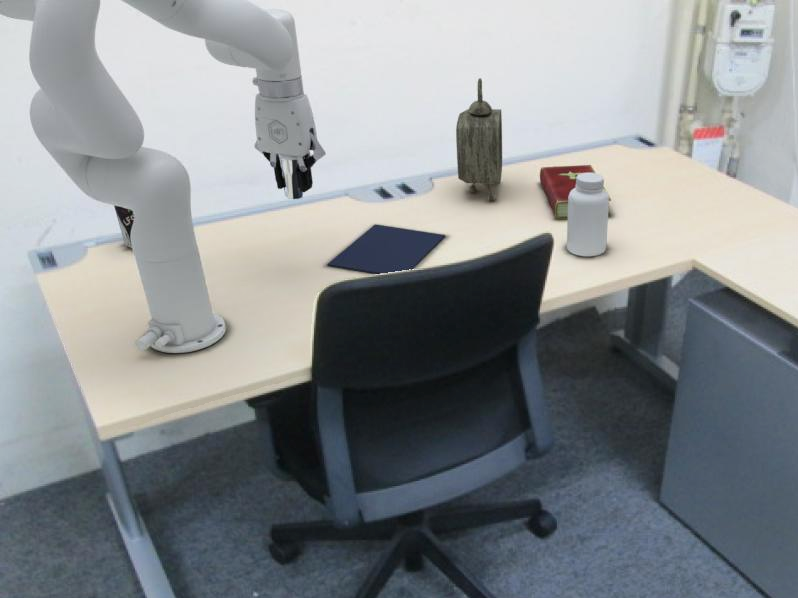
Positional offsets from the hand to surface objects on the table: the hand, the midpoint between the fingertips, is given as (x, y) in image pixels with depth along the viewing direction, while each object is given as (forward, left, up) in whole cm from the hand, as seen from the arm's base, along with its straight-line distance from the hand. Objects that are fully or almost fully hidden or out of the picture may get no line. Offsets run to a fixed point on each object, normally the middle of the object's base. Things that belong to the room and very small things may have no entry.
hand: (295, 187), depth 167 cm
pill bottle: (+23, -50, -15) cm, 57 cm away
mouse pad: (+9, -13, -15) cm, 22 cm away
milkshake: (0, 0, -2) cm, 2 cm away
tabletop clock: (+44, -19, -15) cm, 50 cm away
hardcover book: (+47, -40, -15) cm, 64 cm away
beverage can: (-5, +35, -15) cm, 38 cm away
